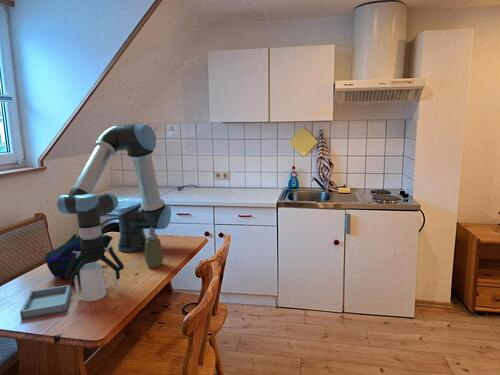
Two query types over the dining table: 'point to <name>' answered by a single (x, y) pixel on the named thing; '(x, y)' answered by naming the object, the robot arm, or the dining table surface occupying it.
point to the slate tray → (46, 302)
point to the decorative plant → (68, 255)
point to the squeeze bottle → (153, 250)
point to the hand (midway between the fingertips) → (97, 290)
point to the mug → (93, 281)
